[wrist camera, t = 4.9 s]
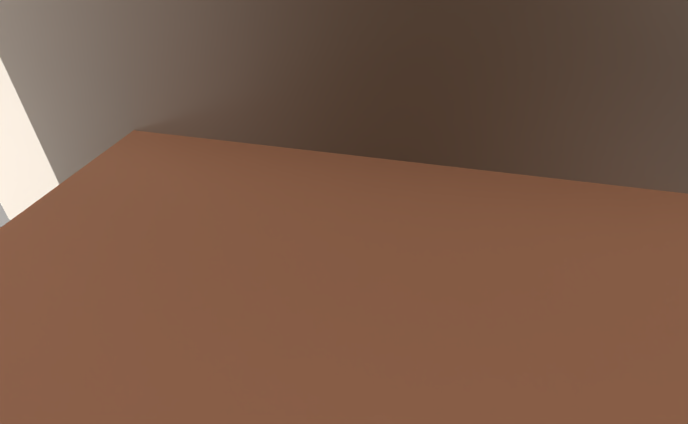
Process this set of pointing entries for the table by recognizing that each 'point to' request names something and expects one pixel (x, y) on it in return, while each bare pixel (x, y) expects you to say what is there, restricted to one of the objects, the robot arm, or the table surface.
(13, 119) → the dock
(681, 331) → the orange block
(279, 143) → the grey slotted block
